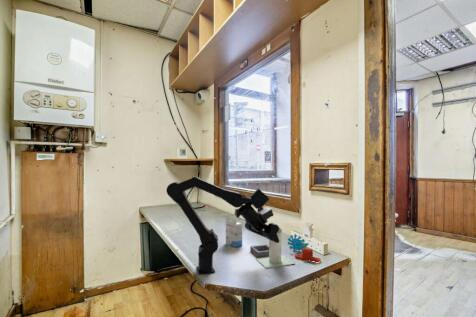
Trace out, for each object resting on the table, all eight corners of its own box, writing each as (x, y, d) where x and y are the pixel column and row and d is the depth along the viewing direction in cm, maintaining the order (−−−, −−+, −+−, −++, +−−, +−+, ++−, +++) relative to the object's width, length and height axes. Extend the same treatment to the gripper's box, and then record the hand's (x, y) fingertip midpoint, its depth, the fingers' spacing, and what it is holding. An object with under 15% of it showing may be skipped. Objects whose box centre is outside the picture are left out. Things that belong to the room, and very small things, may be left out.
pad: (295, 264, 101) (295, 263, 101) (265, 268, 97) (265, 267, 97) (283, 256, 111) (283, 255, 111) (256, 259, 106) (256, 258, 106)
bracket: (293, 258, 108) (293, 247, 109) (296, 255, 112) (296, 245, 112) (319, 264, 103) (319, 252, 103) (321, 261, 106) (321, 249, 106)
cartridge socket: (275, 255, 111) (275, 250, 111) (257, 257, 108) (257, 252, 108) (266, 249, 120) (266, 244, 120) (250, 251, 117) (250, 246, 117)
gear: (290, 251, 112) (286, 232, 119) (285, 257, 116) (282, 238, 123) (311, 253, 114) (307, 235, 121) (306, 259, 118) (302, 240, 125)
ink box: (242, 245, 126) (242, 217, 126) (236, 247, 122) (236, 218, 123) (231, 241, 132) (231, 215, 132) (225, 243, 128) (225, 216, 129)
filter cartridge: (283, 262, 102) (284, 230, 103) (272, 264, 100) (272, 230, 101) (277, 257, 107) (277, 227, 108) (266, 259, 106) (266, 227, 106)
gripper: (276, 204, 93) (296, 229, 98) (250, 199, 110) (269, 220, 115) (259, 226, 89) (281, 251, 94) (235, 217, 105) (255, 239, 110)
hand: (271, 239), depth 103 cm, fingers open, 9 cm apart
